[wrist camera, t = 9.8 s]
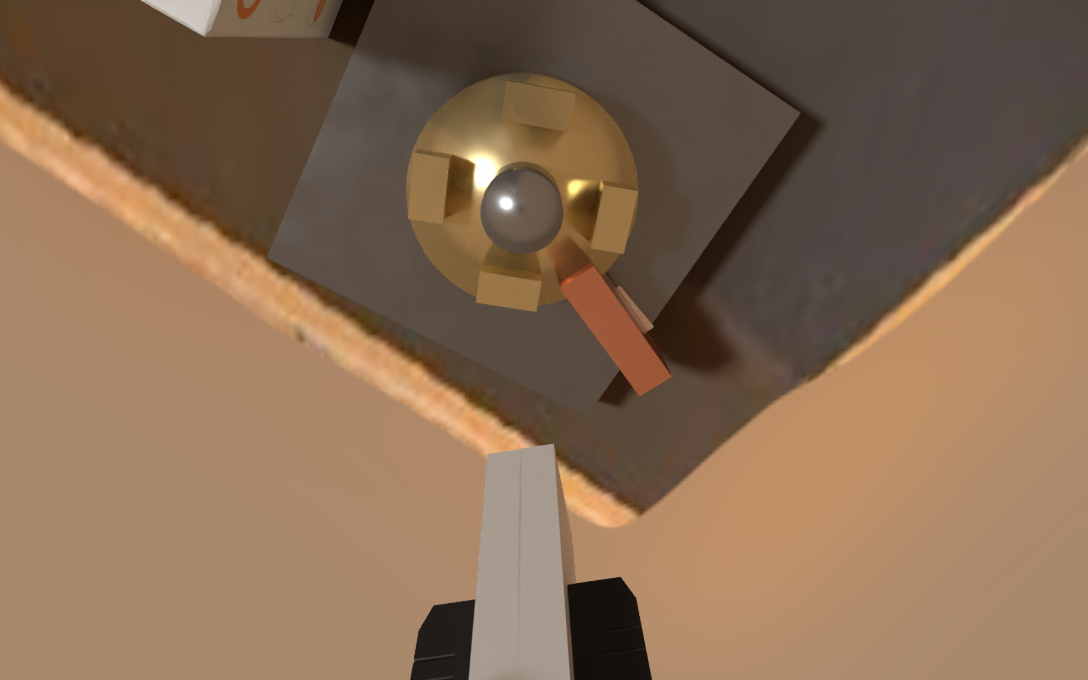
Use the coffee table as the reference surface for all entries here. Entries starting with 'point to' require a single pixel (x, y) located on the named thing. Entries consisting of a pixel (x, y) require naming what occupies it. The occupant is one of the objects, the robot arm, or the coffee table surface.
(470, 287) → the gold tabbed disc
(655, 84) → the flange plate
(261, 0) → the small box
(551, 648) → the robot arm
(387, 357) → the coffee table surface
